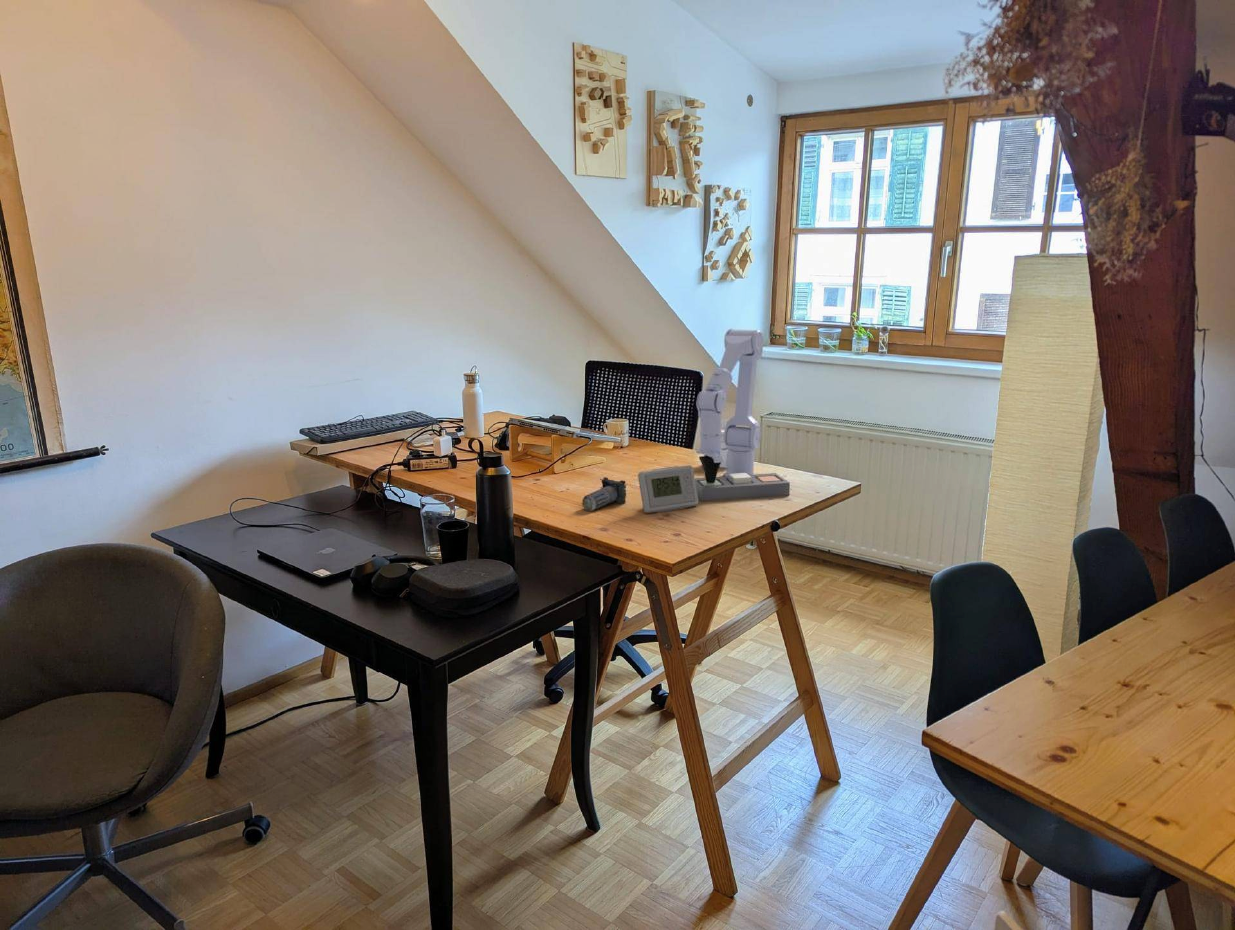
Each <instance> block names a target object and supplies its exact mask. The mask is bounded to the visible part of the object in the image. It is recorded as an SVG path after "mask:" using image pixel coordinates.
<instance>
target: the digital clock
mask: <svg viewBox="0 0 1235 930" xmlns="http://www.w3.org/2000/svg"><path fill="white" fill-rule="evenodd" d="M695 478H696V477H695V472H694V468H693V466H692V465H689V464H688V465H682V466H681V465H680V466H669V467H661V468H654V469H650V470H643V471H639V472H638V474H637V479H638V484H639V490H640V491H639V492H640V497H641V502H642V503H641V504H642V509H643V512H644V513H645V514H650V513H658V514H659V513H663V512H669V511H676V510H682V509H683V510H684V509H687V508H691V507H697V506H698V505H699V498H698V496H697V490H696V484H695Z"/></svg>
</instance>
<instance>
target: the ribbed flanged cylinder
mask: <svg viewBox="0 0 1235 930" xmlns="http://www.w3.org/2000/svg"><path fill="white" fill-rule="evenodd" d="M599 481H601V484H602V485H601V487H600V489H598V490H595V491H593V492H590V493H589V494H586V495H585V496H584V497H583V498H582V502H581V505H582V507H583V509H584V510H585V511H589V512H594V511H595V509H596V510H597V509H600V508H602V507H604V506H606V505H608V504H610V503H612V502H613V503H618V502H619V504H621V503H622V504H621V505H625V504H626V503H627V502H626V498H627V485H625V484H627V482H626V481H625V480H620V481H618V480H614V479H609V478H608V477H601V478H600V479H599Z"/></svg>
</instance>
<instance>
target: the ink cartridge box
mask: <svg viewBox="0 0 1235 930" xmlns="http://www.w3.org/2000/svg"><path fill="white" fill-rule="evenodd" d="M728 420H729V419H721V449H722V454H721V455H722V462H721V464H720V466H719V468H726V467H727V452H728V450H729V449H727V446H726V445H725V443H724V440H723V435H724V431H725V428H726V423H727V421H728ZM719 468H718V469H719Z"/></svg>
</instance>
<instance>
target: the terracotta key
mask: <svg viewBox="0 0 1235 930" xmlns="http://www.w3.org/2000/svg"><path fill="white" fill-rule="evenodd" d="M757 479H758V480H759V481H761V482H774V481H781V480H779V479H778V478H777V477H775V476H764V477H757Z"/></svg>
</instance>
